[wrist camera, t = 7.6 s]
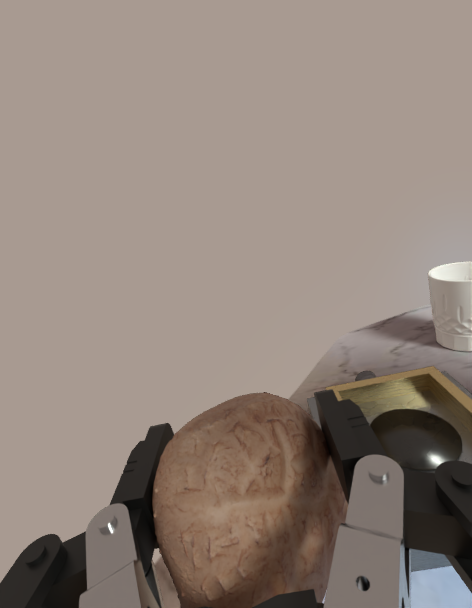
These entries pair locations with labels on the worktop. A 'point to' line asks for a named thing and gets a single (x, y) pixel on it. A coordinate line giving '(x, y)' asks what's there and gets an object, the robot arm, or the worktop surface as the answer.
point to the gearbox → (414, 424)
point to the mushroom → (247, 504)
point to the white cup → (452, 304)
